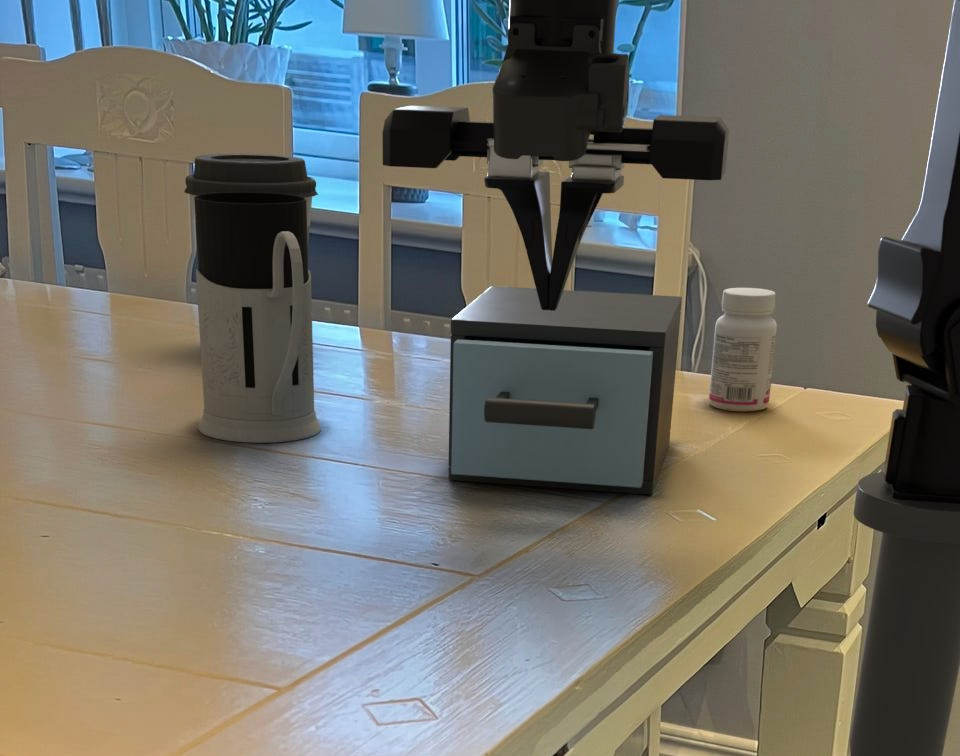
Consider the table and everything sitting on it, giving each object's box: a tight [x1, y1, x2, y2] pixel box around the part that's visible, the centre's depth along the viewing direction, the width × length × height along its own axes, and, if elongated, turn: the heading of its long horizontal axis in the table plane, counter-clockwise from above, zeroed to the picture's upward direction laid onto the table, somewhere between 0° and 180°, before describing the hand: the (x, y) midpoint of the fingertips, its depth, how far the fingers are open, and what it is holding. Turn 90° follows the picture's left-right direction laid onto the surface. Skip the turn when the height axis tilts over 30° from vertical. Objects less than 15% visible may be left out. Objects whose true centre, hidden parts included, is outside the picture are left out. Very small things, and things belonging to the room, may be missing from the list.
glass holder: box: [194, 192, 322, 444], centre depth 109 cm, size 9×14×15 cm, turn 24°
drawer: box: [451, 337, 653, 488], centre depth 102 cm, size 18×12×8 cm, turn 170°
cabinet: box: [448, 285, 683, 496], centre depth 106 cm, size 15×13×10 cm
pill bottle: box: [708, 287, 778, 412], centre depth 124 cm, size 5×5×8 cm
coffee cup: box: [184, 153, 319, 242], centre depth 138 cm, size 11×11×15 cm
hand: (549, 309), depth 93 cm, fingers closed
